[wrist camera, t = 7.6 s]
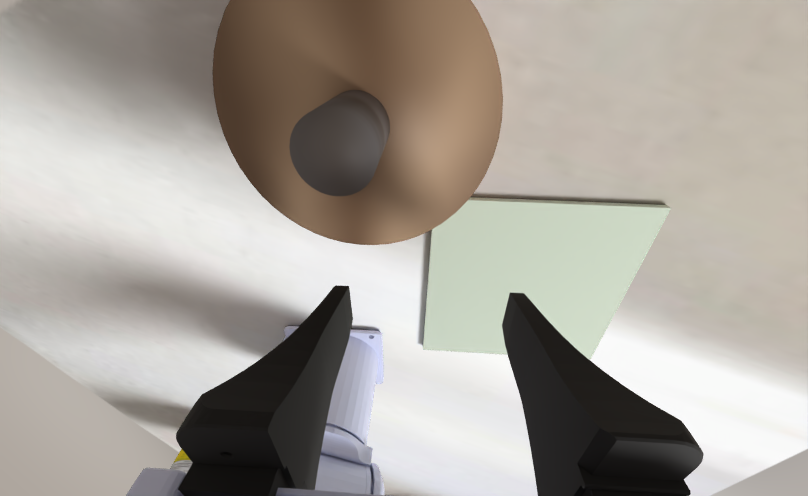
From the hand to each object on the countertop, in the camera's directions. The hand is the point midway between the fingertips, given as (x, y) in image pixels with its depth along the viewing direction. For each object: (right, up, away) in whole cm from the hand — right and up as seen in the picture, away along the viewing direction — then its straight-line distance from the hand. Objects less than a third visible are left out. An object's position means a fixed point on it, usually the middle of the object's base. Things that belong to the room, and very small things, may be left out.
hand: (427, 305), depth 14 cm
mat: (+9, -1, +12) cm, 15 cm away
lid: (-3, +9, +1) cm, 9 cm away
